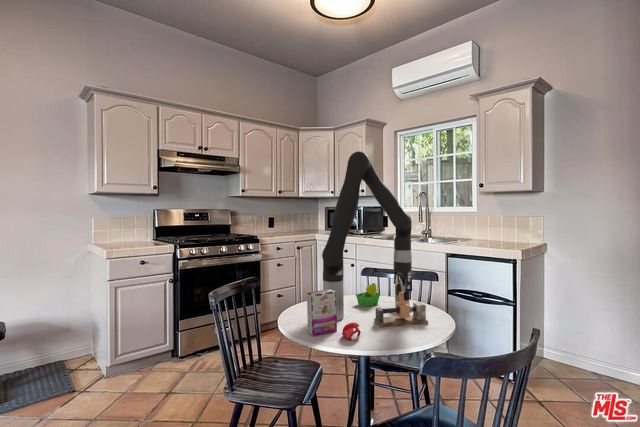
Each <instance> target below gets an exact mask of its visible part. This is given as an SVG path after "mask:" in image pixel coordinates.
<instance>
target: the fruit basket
mask: <svg viewBox="0 0 640 427" xmlns="http://www.w3.org/2000/svg"><path fill="white" fill-rule="evenodd" d="M380 296H381V293H379V292H378V289H377V284H376V283H374V282H372V283H371V284H369V285H368V286H366V288H365V292H361V293H356V294H355V297H356V300H357V303H358V305H359V306H361V307H369V306H373V305H377V304H378V303H379V300H380Z"/></svg>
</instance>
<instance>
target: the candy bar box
mask: <svg viewBox="0 0 640 427" xmlns="http://www.w3.org/2000/svg"><path fill="white" fill-rule="evenodd" d="M306 310H307V333H308V334H309V335H310V336H312V337H317V336H321V335H322V336H323V335H326V334H329V333H330V334H331V333H335V332H337V331H338V321H337V316H336V315H337V314H336V291H334V290H332V289H328V290H323V289H322V290H317V291H310V292H306Z"/></svg>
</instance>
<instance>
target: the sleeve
mask: <svg viewBox="0 0 640 427" xmlns="http://www.w3.org/2000/svg"><path fill="white" fill-rule="evenodd" d="M410 306H411V305H410V304H409V305H408V304H407V302H406V301H405V300H404V292H399V302H396V308H400V313H395V315H396V316H399V317H400V318H410V315H411V313H410Z"/></svg>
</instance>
